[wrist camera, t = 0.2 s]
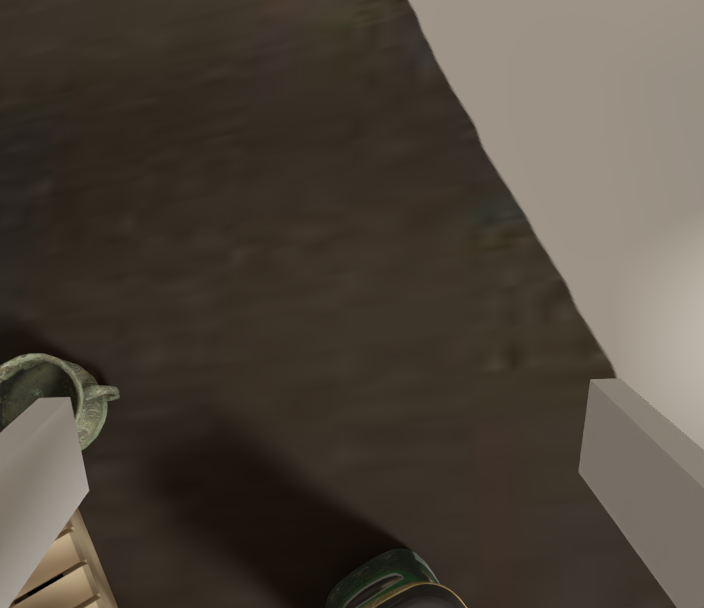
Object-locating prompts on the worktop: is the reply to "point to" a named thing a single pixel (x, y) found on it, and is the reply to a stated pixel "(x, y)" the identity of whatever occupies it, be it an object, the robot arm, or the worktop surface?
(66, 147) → the worktop surface
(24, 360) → the vessel
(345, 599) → the coffee jar
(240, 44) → the worktop surface
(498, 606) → the worktop surface
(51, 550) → the pallet
